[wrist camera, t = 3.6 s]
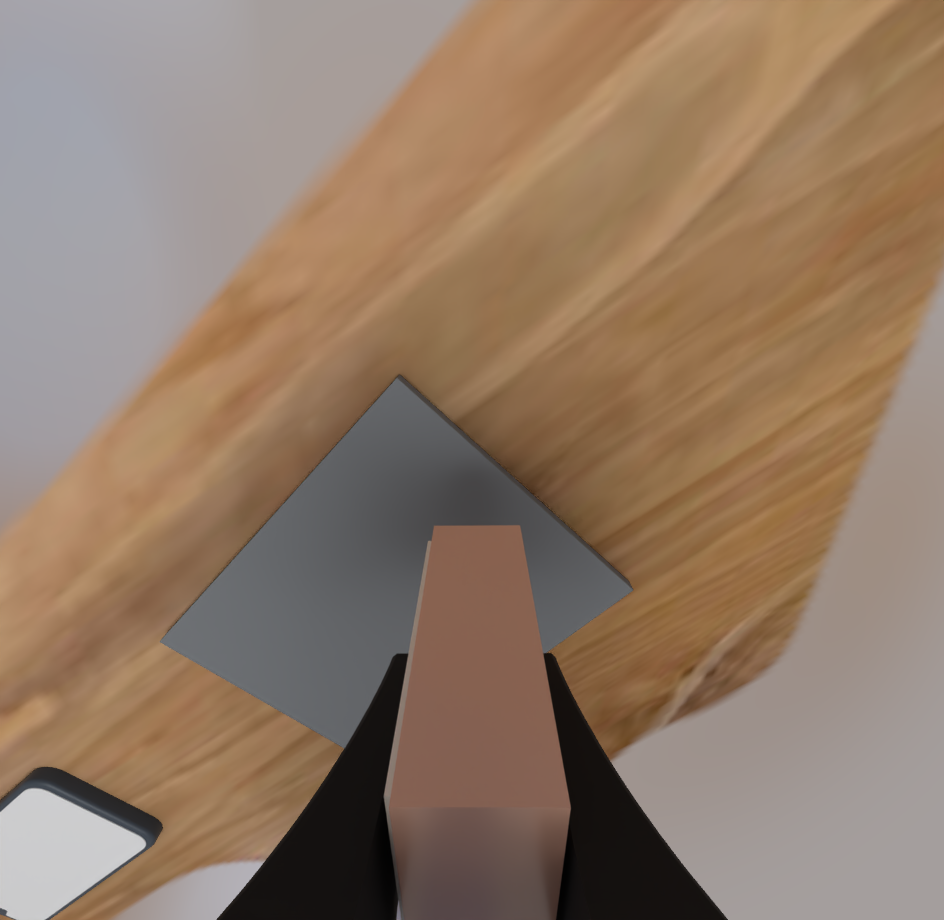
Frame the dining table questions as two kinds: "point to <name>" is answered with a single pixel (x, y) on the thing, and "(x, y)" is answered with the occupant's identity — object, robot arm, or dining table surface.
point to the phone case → (63, 842)
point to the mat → (374, 566)
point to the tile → (476, 742)
